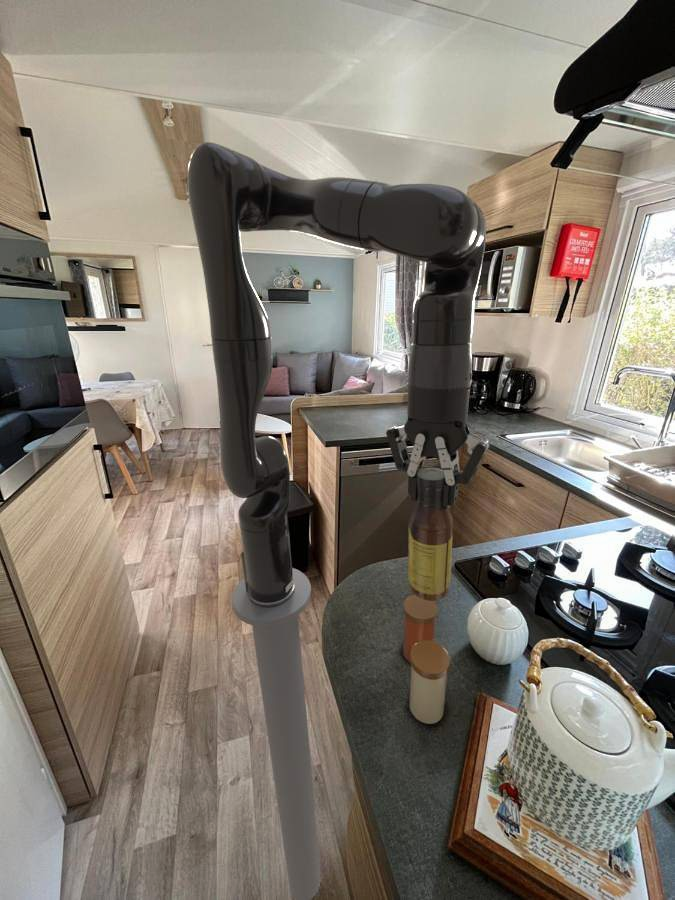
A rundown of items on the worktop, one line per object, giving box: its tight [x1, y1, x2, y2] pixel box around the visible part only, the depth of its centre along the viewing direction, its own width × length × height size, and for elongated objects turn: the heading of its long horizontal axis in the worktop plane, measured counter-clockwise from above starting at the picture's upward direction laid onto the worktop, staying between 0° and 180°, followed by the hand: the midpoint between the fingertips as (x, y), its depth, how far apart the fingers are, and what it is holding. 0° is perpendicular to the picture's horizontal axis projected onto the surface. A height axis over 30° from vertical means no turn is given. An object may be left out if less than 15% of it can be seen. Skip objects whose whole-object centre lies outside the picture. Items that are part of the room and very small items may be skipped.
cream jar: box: [408, 641, 451, 725], centre depth 55 cm, size 5×5×10 cm
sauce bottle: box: [407, 467, 454, 602], centre depth 55 cm, size 6×6×20 cm
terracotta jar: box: [402, 594, 438, 664], centre depth 64 cm, size 5×5×10 cm
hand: (431, 501), depth 53 cm, fingers closed on sauce bottle, 4 cm apart
